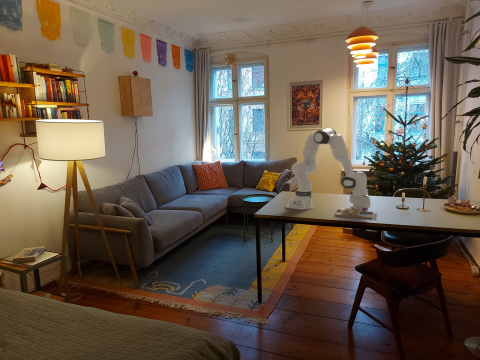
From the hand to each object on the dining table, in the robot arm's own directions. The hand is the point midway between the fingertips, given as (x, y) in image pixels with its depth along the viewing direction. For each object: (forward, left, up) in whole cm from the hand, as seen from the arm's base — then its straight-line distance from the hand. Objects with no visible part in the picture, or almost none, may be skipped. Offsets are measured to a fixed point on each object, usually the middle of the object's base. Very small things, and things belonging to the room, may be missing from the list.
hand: (359, 211), depth 252 cm
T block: (-7, -2, -3) cm, 8 cm away
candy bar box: (-1, +20, -4) cm, 20 cm away
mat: (-3, 0, -4) cm, 5 cm away
